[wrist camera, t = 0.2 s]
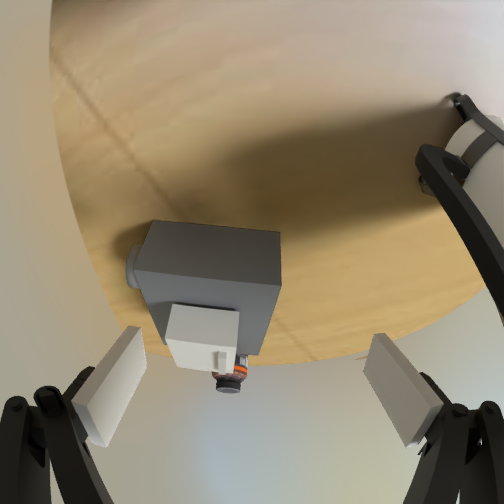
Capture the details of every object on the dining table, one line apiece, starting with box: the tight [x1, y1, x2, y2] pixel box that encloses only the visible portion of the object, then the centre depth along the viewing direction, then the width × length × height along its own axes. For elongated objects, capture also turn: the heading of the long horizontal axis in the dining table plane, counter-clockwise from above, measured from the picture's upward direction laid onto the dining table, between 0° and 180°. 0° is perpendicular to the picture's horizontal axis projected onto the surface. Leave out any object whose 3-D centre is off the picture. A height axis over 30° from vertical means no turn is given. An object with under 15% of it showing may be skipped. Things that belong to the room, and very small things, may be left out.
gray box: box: [126, 220, 282, 356], centre depth 33 cm, size 18×16×8 cm
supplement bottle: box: [212, 354, 248, 393], centre depth 44 cm, size 6×6×11 cm
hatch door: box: [165, 304, 239, 375], centre depth 29 cm, size 9×7×5 cm
